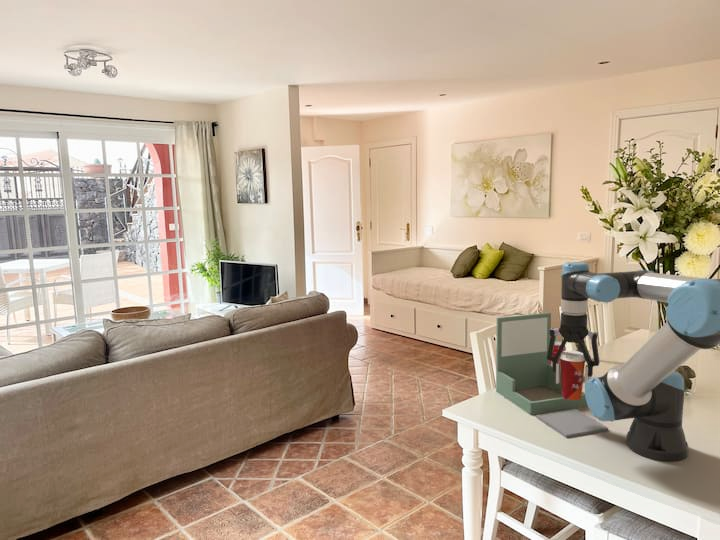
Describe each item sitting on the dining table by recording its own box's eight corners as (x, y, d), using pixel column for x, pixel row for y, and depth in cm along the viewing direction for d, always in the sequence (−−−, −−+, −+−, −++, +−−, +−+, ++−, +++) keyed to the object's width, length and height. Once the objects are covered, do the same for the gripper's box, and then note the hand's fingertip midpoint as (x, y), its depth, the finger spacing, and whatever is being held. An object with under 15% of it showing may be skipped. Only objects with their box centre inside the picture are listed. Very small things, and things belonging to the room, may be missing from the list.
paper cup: (581, 403, 156) (582, 358, 154) (555, 398, 161) (556, 354, 159) (587, 395, 162) (589, 352, 160) (562, 390, 167) (563, 348, 165)
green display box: (587, 406, 176) (589, 325, 172) (530, 414, 170) (531, 332, 166) (547, 384, 197) (549, 312, 193) (496, 391, 191) (496, 317, 187)
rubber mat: (608, 430, 157) (608, 427, 157) (565, 437, 153) (566, 435, 153) (575, 411, 172) (575, 409, 172) (536, 417, 168) (536, 415, 168)
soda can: (567, 372, 209) (567, 341, 207) (563, 378, 203) (563, 346, 201) (548, 370, 213) (549, 339, 211) (544, 375, 207) (545, 343, 205)
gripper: (612, 312, 156) (609, 385, 159) (541, 307, 166) (540, 375, 169) (610, 318, 149) (607, 393, 153) (536, 312, 160) (535, 383, 163)
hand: (572, 384), depth 161 cm, fingers closed on paper cup, 8 cm apart
